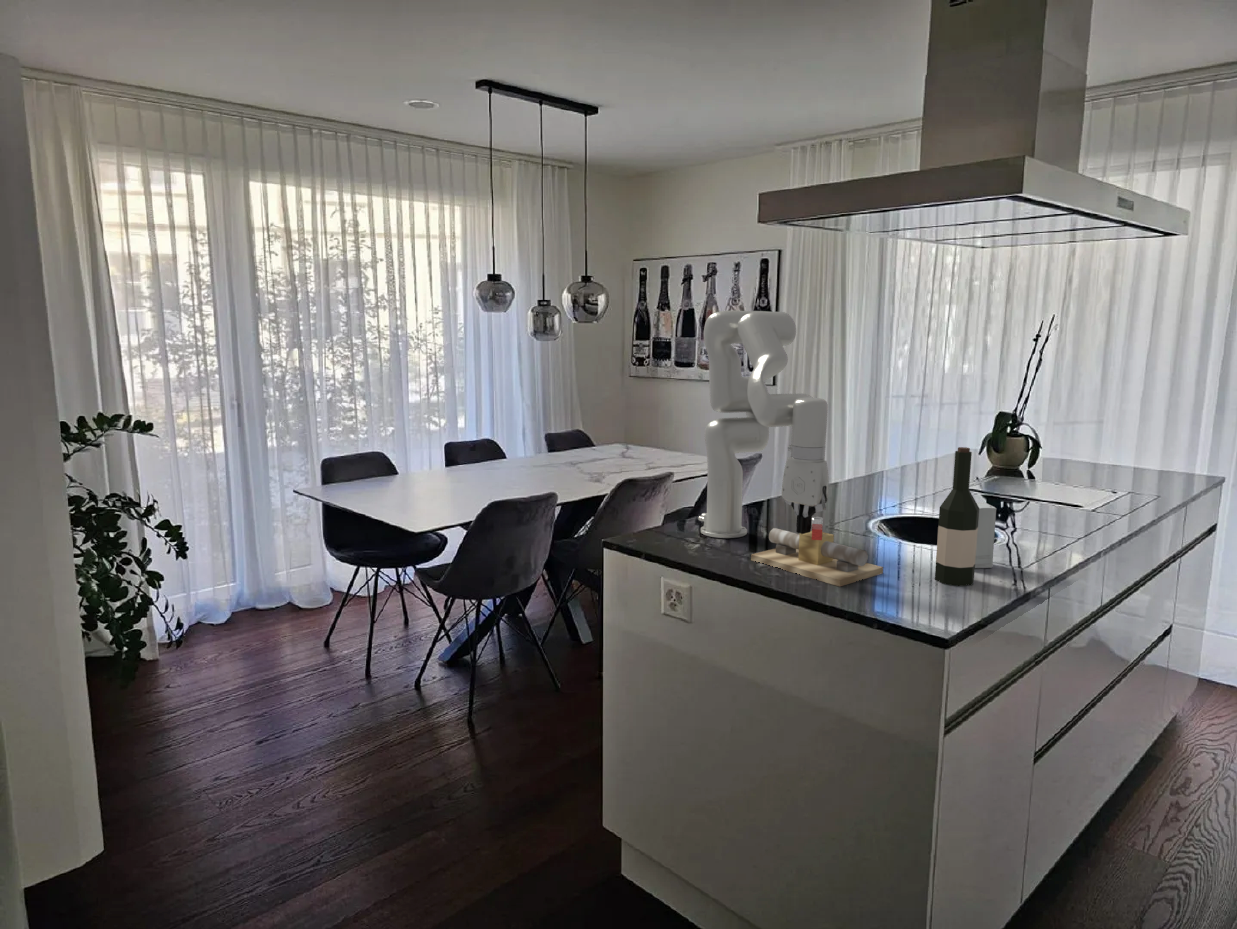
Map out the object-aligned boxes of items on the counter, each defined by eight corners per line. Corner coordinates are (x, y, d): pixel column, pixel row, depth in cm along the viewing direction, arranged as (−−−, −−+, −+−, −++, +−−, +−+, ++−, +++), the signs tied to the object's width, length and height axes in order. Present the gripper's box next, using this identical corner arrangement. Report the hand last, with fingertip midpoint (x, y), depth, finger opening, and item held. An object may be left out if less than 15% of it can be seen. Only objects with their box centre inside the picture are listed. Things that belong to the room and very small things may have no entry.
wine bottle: (960, 588, 180) (970, 452, 175) (926, 579, 187) (935, 447, 182) (981, 581, 185) (992, 448, 180) (948, 572, 191) (957, 444, 186)
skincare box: (981, 561, 201) (985, 501, 198) (993, 569, 195) (998, 507, 192) (947, 562, 200) (951, 502, 198) (958, 569, 194) (963, 507, 192)
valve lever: (810, 539, 183) (811, 529, 183) (811, 525, 196) (811, 515, 196) (822, 540, 182) (823, 529, 182) (822, 526, 195) (823, 516, 195)
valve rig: (751, 560, 201) (752, 522, 200) (794, 549, 211) (795, 513, 209) (839, 586, 181) (841, 544, 179) (882, 573, 191) (885, 533, 189)
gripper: (770, 450, 189) (767, 528, 192) (825, 460, 178) (820, 542, 181) (792, 447, 194) (788, 523, 197) (846, 456, 182) (840, 536, 186)
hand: (803, 532), depth 189 cm, fingers closed
